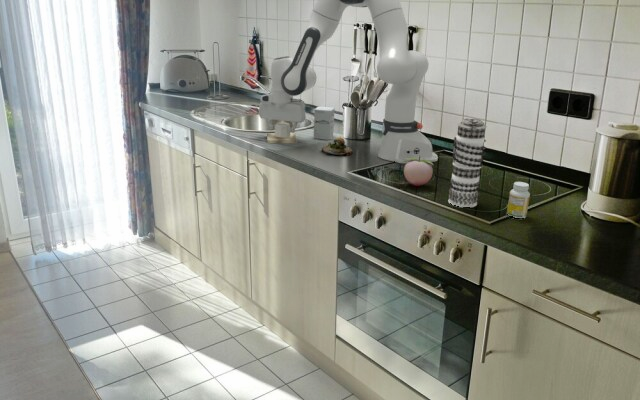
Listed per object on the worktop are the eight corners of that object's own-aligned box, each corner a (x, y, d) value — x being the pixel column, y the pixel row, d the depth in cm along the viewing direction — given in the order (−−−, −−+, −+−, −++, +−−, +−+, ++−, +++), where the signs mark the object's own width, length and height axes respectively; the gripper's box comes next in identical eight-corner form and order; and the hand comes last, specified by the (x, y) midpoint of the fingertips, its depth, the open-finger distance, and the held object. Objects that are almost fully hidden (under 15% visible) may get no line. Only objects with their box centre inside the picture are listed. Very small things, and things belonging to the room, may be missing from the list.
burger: (315, 151, 219) (316, 132, 216) (340, 147, 225) (340, 129, 223) (334, 159, 210) (334, 139, 207) (358, 154, 216) (359, 135, 214)
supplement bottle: (515, 220, 156) (520, 187, 152) (502, 213, 160) (507, 182, 157) (530, 218, 158) (535, 185, 154) (517, 211, 162) (522, 180, 159)
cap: (273, 134, 236) (273, 122, 234) (287, 133, 238) (287, 122, 236) (276, 137, 231) (276, 125, 229) (291, 137, 232) (291, 125, 231)
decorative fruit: (402, 189, 178) (404, 159, 174) (402, 181, 186) (404, 152, 182) (432, 191, 177) (435, 161, 173) (431, 183, 184) (434, 154, 181)
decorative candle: (446, 196, 173) (455, 116, 164) (476, 198, 172) (487, 118, 163) (447, 206, 165) (456, 122, 156) (479, 209, 163) (491, 124, 155)
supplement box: (313, 138, 237) (313, 109, 233) (317, 134, 244) (318, 105, 239) (330, 140, 235) (331, 110, 231) (333, 136, 242) (335, 107, 238)
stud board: (295, 136, 240) (295, 126, 239) (296, 143, 229) (296, 133, 228) (267, 136, 239) (267, 126, 238) (267, 143, 228) (267, 133, 227)
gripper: (308, 98, 227) (308, 132, 231) (264, 94, 235) (264, 127, 239) (301, 100, 221) (301, 135, 226) (256, 96, 229) (257, 129, 234)
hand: (282, 131), depth 233 cm, fingers open, 8 cm apart
